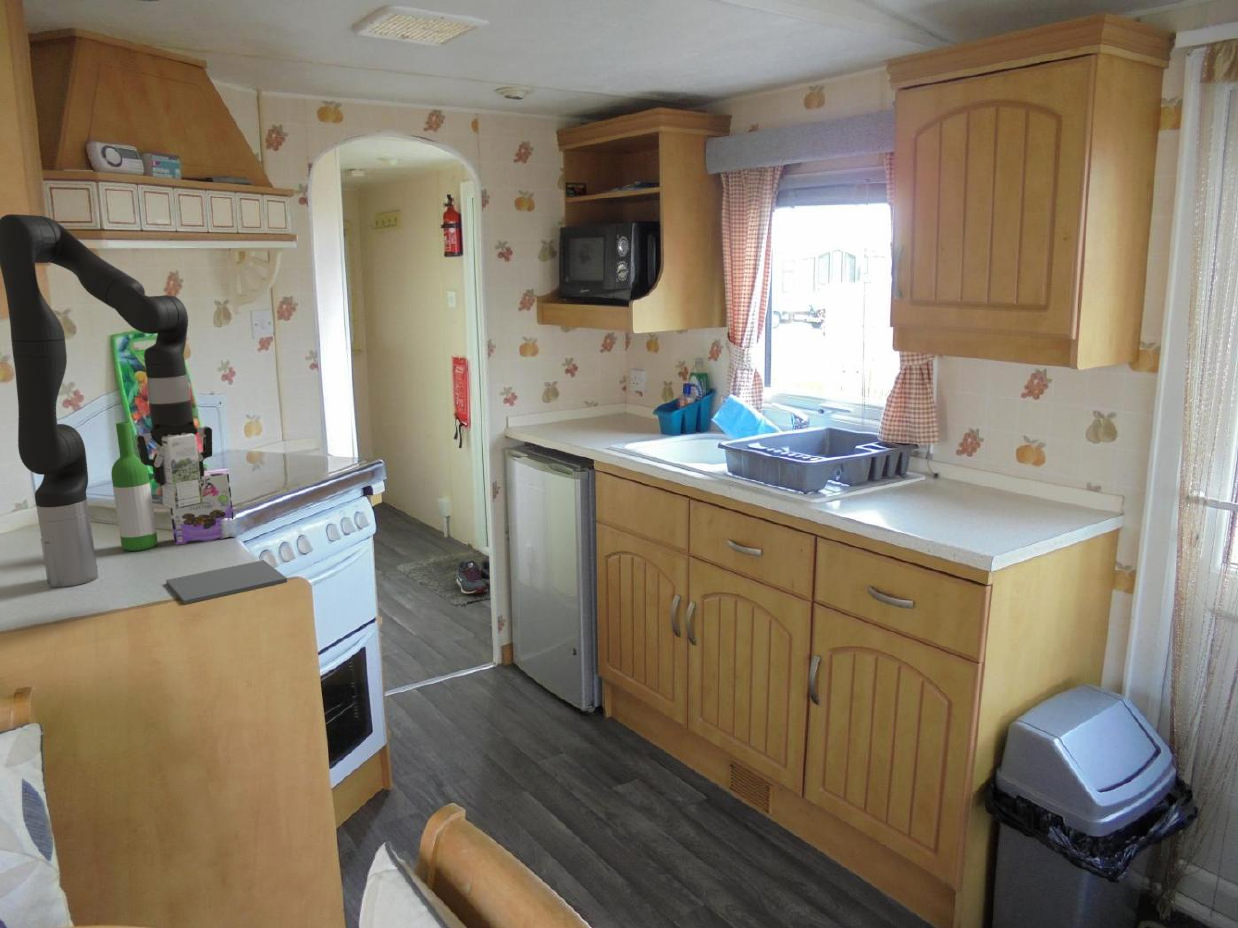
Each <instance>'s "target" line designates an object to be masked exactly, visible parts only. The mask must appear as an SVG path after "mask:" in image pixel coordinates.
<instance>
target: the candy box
mask: <svg viewBox="0 0 1238 928" xmlns="http://www.w3.org/2000/svg"><path fill="white" fill-rule="evenodd" d="M201 489H202V499H203V503H202V504H198V505H193V506H189V507H184V508H179V509H174V508H170V507H169V511H170V520H171V525H172V533H173V540H174V545H175V546H177V545H186V544H194V543H201V542H208V541H217V540H221V539H220V538H222V537H223V536H222V533H221V531H222V530H221V528H220V527H221V526H222V525H221V523H220V522H222V521H221V520H222V519H224V518H227V517H228V518H232V519H233V517H234V518H235V516H234V510H233V509H234V508H233V499H232V490H231V480H230V472H229V468H222V469H221V468H220V469H212V470H211V469H210V470H204V476H203V477H202V480H201Z"/></svg>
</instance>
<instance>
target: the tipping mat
mask: <svg viewBox="0 0 1238 928" xmlns="http://www.w3.org/2000/svg"><path fill="white" fill-rule="evenodd" d="M284 583H288V578H287V576H285V575H283V573H281V572H280V571H278V570H277V569H275V567H273V565H271V564H269V562H267V561H265V560H264V559H263V560H258V561H252V562H248V563H244V564H237V565H233V566H228V567H224V568H219V569H214V570H208V571H204V572H198V573H194V574H188V575H183V576H179V577H174V578H169V579H166V585H167V586H168V587H169V588H170V589H171V590H172V592H173V593H174V594H175V595H176V596H177V597H178V599H180V601H181V602H182V603H183V604H184V605H188V604H193V603H197V602H201V601H203V602H204V601H206V600H211V599H215V598H216V599H217V598H220V597H225V596H229V595H234V594H238V593H242V592H247V591H252V590H256V589H261V588H266V587H270V586H274V585H279V584H284Z"/></svg>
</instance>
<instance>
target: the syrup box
mask: <svg viewBox="0 0 1238 928" xmlns="http://www.w3.org/2000/svg"><path fill="white" fill-rule="evenodd" d="M163 443H164V450H163V451H165V457H164V458H163V461H162V463H161V465H160V466H161V467H162V471H163V478H164V485H161V486H160V485H159V487H160V497H161V504H162V506H164V507H168V508H169V509H170V508H174V509H179V508H184V507H189V506H193V505H198V504H202V503H203V499H202V489H201V480H200V471H199V461H198V452H197V449H198V445H197V444H198V443H197V434H196V435H194V434H192V433H190V434H187V435H181V436H180V435H172V436H171V437H166V436H162V444H163ZM154 446H155V450H156V449H158V450H160V449H161V446H160V445H159V444H157V443H156V442H155V441H154Z"/></svg>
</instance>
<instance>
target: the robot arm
mask: <svg viewBox="0 0 1238 928" xmlns="http://www.w3.org/2000/svg"><path fill="white" fill-rule="evenodd" d="M48 263H51V264H54V265H56V266H58V267H61V268H64V269H65V270H68V271H69V272H71V273H73V274H74V275H75V276H76V277H77V279H78V281H79V283H80V284H81V286H82V287H83V289H85V290H86V292H87V293H89V294H90V295H91V296H93V297H94V298H95V299H97V300H98V301H101V302H102V303H103V304H105V305H107V306H109V307H110V308H112V309H114V310H115V311H116V312H117V313H118V315H119V316H120V317H122V319H123V320H124V321H125V322H126V323H127V324H128V325H129V326H130V327H132V328H133V329H134V330H136V331H138V332H141V333H143V334H148V335H153V334H154V335H155V334H157V336H156V339H155V340H156V341H155V343H154V344H153V345H152V346H151V345H150V346H149V347H148V348H146V349H145V350H144V353H143V355H144V356H143V358H144V360H143V361H144V366H145V373H146V374H145V375H146V391H147V395H146V397H147V401H148V407H149V415H150V422H151V430H150V432H149V433H145V434H139V433H137V434H135V436H134V438H135V442H136V447H137V451H138V455H139V458H140V459H141V462H142V463H143V464H144V465H146V466H147V467H148V466H149V467H151V468H152V475H153V480H154V481H155V483H156V484H158V486H159V487H160V486H161V485H164V478H163V471H162V467H161V466H160V465H161V463H162V461H163V458H164V457H165V451H163V450H164V443H163V444H162V436H166V437H171V436H172V435H180V436H181V435H187V434H190V433H192V434H194V435H196V436H197V434H199V437H200V438H202V451H201V452H200V451H199V450H198V448H197V452H198V461H199V471H200V480H202V477H203V476H204V471H205V469H204V467H205V466H204V460H206V459H208V458H211V457H212V456H213V429H212V428H211V427H209V426H203V427H197V426H196V425H195V423H194V415H193V406H192V398H191V390H190V383H189V381H188V377H187V370H186V361H185V355H184V354H185V348H186V343H187V335H188V328H189V316H188V311H187V308H186V306H185V305H184V303H183V302H182V301H181V300H180V299H179V298H178V297H176V296H175V295H174V296H173V295H168V294H167V295H166V294H165V295H154V296H148V295H146V291H145V288H144V286H143V284H142V283H140V282H139V280H137V279H136V278H134V277H132V276H131V275H129V274H127V273H125V272H124V271H122V270H120V268H117V267H116V266H114V265H112V264H110V263H109V262H107V261H105V259H102V258H101V257H100V256H98V255H97V254H96V253H94V252H93V251H92V250H91V249H89V248H88V247H87V246H86V245H84V244H83V243H82V242H81V241H80V240H78V239H77V238H76V237H75V235H73V234H72V233H71V232H70V231H68V230H67V229H66V228H65V227H63V225H61V224H60V223H58V221H56V220H54V219H53V218H50V217H49V216H48V217H47V216H43V215H35V214H34V215H32V214H31V215H30V214H17V213H16V214H12V213H11V214H5V215H3V216H1V217H0V271H1V275H2V280H3V285H4V290H5V295H6V303H7V308H8V309H7V310H8V315H9V325H10V326H9V327H10V338H11V348H12V349H11V350H12V355H13V356H12V357H13V364H14V372H15V383H16V392H17V393H16V394H17V395H16V396H17V405H18V409H17V410H18V421H17V422H18V428H17V430H18V432H17V447H18V448H17V449H18V454H19V457H20V460H21V462H22V464H23V466H25V468H27V470H29V471H30V472H32V473H34V474H36V475H41V476H42V475H43V478H42V481H41V483H40V485H39V486H38V488H37V489H36V490H35V493H34V499H35V500H34V501H35V506H36V513H37V518H38V524H39V531H40V537H41V538H40V542H41V543H40V544H41V550H42V555H43V556H42V557H43V561H44V568H45V573H46V581H47V583H48V584H49V586H50V588H51V589H52V588H57V587H58V588H59V587H71V586H76V585H82V584H86V583H89V582H91V581H93V580H95V579H97V578H98V577H99V571H98V564H97V557H96V550H95V545H94V538H93V537H94V536H93V530H92V525H91V524H92V523H91V517H90V511H89V505H88V498H87V488H88V484H89V472H88V463H87V453H86V447H85V443H84V440H83V438H82V436H81V434H80V433H79V432H78V430H77V429H75V428H74V427H73V426H70V425H68V424H65V423H58V418H57V402H58V397H59V393H60V391H61V387H62V384H63V381H64V377H65V374H66V369H67V365H68V363H67V361H68V359H67V356H68V355H67V345H66V336H65V331H64V328H63V326H62V324H61V321H60V320H59V318H58V317H57V315H56V313H55V312H54V310H52V308H51V306H49V304H48V303H47V300H46V299H45V297H44V296H43V294H42V292H41V289H40V286H39V283H38V278H37V270H36V264H48ZM151 439H152V440H153V441H154V443H155V442H156V443H157V444H159V445H160V446H161V449H160V450H158V449H156V448H155V450H154V451H155V452H154V455H153V457H152V459H151V458H150V456H149V450H148V448H147V446H148V445H150V440H151Z"/></svg>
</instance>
